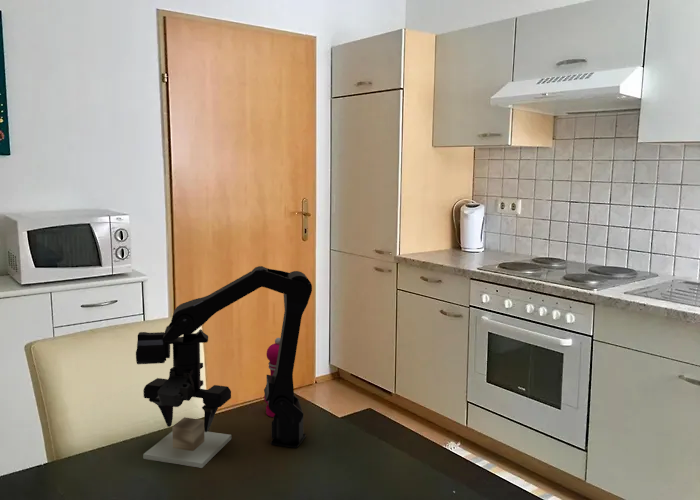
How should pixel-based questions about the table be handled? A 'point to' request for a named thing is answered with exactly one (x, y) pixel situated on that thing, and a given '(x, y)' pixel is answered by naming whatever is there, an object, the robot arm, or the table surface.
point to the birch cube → (188, 434)
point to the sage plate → (186, 457)
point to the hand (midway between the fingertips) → (188, 428)
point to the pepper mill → (272, 366)
